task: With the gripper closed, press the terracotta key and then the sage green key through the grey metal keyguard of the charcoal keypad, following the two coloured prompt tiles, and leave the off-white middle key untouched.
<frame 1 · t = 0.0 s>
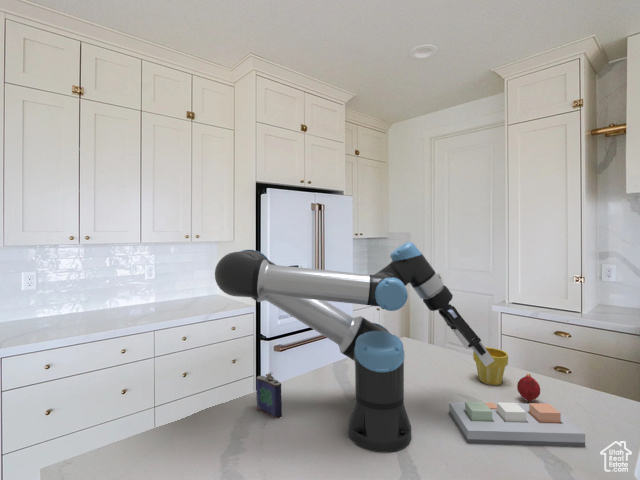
hand: (479, 354, 96), 15 cm above the countertop, tool tilted 35°, fingers open, 13 cm apart
key terracotta: (544, 414, 86), point 4 cm above the countertop, slide at 0.0 cm
flask: (269, 412, 96), on the countertop
key offwhite: (511, 413, 87), point 4 cm above the countertop, slide at 0.0 cm
onion: (528, 401, 101), on the countertop
plant pot: (490, 381, 116), on the countertop
key sage: (478, 412, 87), point 4 cm above the countertop, slide at 0.0 cm
keypad: (511, 428, 87), on the countertop
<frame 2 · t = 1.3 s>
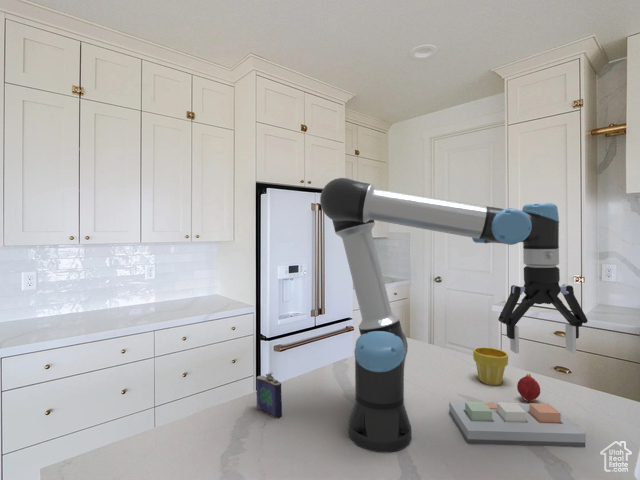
hand: (542, 351, 87), 19 cm above the countertop, tool pointing down, fingers open, 13 cm apart
nothing on the countertop moved.
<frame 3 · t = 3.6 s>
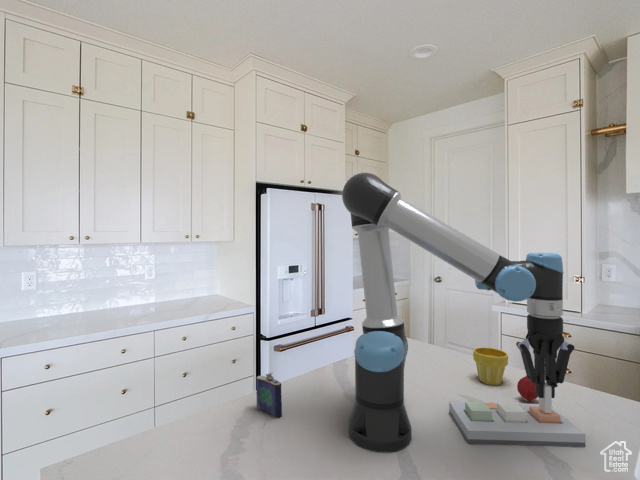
hand: (545, 410, 86), 5 cm above the countertop, tool pointing down, fingers closed
key terracotta: (544, 417, 86), point 3 cm above the countertop, slide at 0.8 cm, touching gripper
everything else where it was.
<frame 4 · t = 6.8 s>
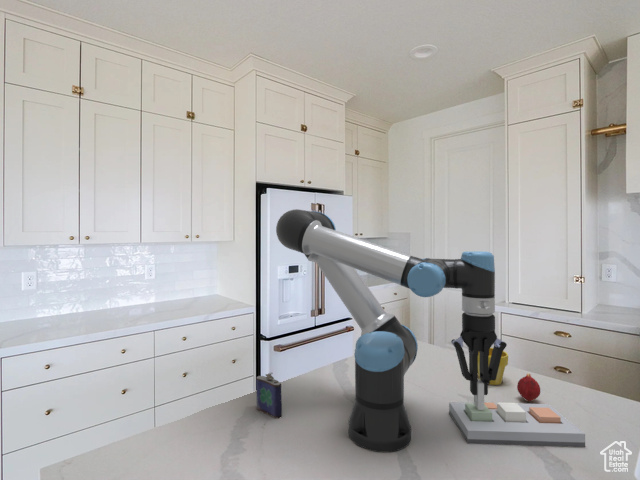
hand: (479, 407, 87), 5 cm above the countertop, tool pointing down, fingers closed
key terracotta: (544, 418, 86), point 3 cm above the countertop, slide at 1.0 cm
key sage: (478, 414, 87), point 3 cm above the countertop, slide at 0.4 cm, touching gripper
everything else where it was.
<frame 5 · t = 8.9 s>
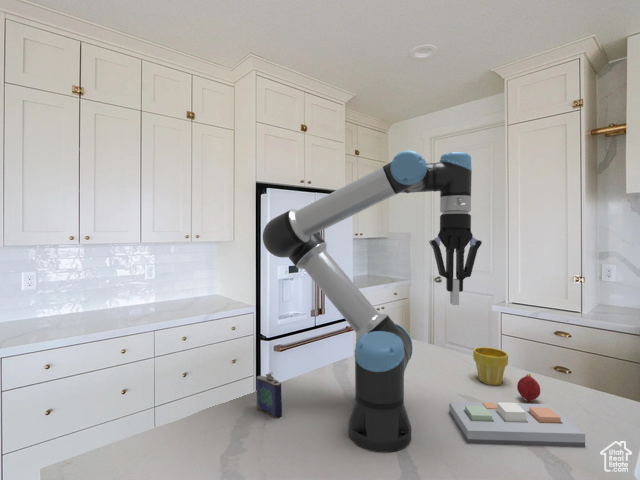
hand: (454, 304, 91), 30 cm above the countertop, tool pointing down, fingers closed
key sage: (478, 416, 87), point 3 cm above the countertop, slide at 1.0 cm
everything else where it was.
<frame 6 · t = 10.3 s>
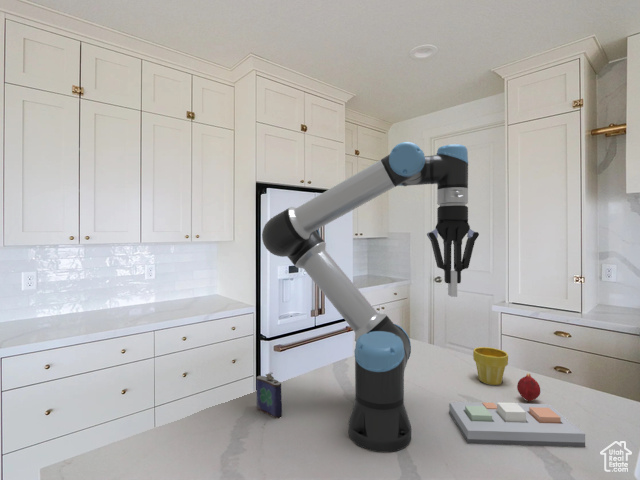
hand: (452, 295, 91), 32 cm above the countertop, tool pointing down, fingers closed
nothing on the countertop moved.
at the end: key terracotta slide at 1.0 cm; key sage slide at 1.0 cm; key offwhite slide at 0.0 cm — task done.
